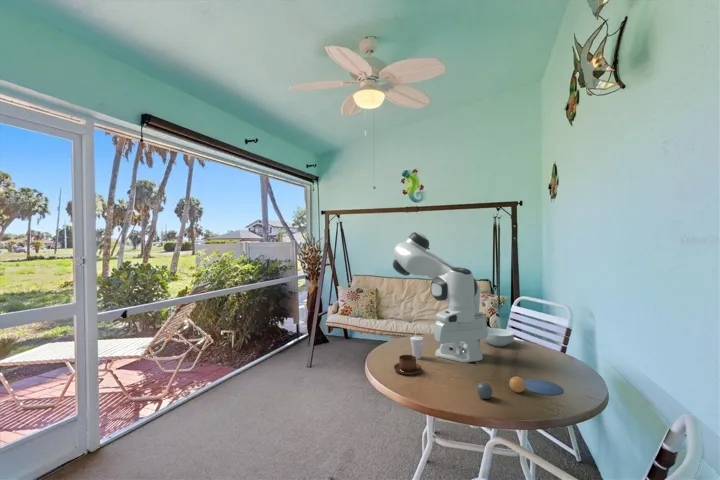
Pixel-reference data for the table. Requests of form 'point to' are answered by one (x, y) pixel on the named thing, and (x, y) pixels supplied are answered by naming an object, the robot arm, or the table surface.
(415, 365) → the cup and saucer
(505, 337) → the cereal bowl
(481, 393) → the charcoal ball
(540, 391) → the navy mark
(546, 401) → the table surface
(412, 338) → the smoothie
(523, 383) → the orange ball
